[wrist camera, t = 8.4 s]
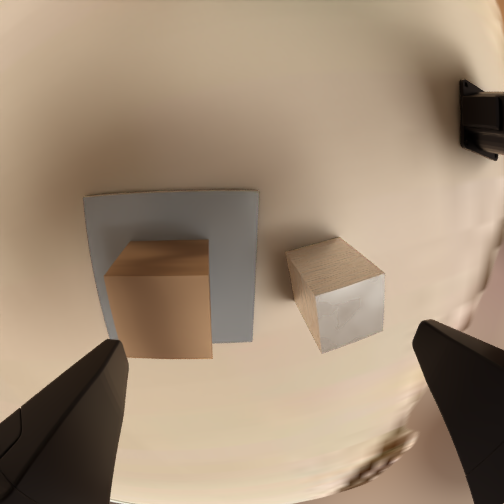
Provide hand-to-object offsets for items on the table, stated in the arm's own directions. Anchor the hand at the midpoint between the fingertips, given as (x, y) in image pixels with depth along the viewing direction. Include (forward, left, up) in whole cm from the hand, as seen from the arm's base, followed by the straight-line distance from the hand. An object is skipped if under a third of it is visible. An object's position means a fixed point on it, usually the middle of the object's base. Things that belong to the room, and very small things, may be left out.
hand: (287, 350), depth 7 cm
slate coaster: (+5, +3, -11) cm, 13 cm away
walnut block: (+5, +3, -11) cm, 12 cm away
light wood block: (-5, +3, -11) cm, 13 cm away
